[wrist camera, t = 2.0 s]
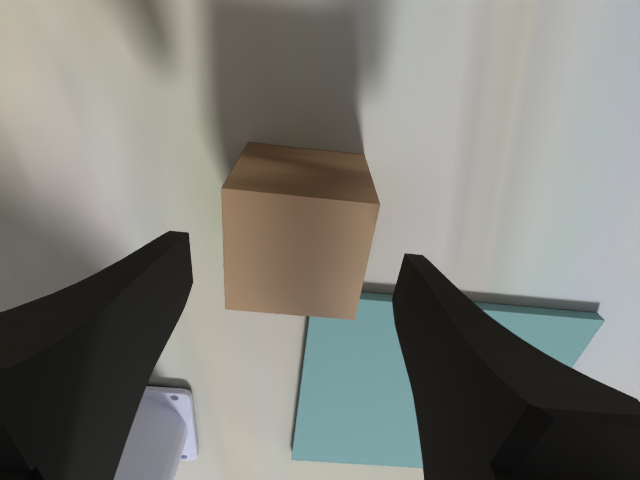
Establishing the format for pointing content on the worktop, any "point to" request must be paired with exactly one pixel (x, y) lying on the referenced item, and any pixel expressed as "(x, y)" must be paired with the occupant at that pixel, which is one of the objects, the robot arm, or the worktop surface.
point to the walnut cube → (297, 231)
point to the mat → (394, 379)
